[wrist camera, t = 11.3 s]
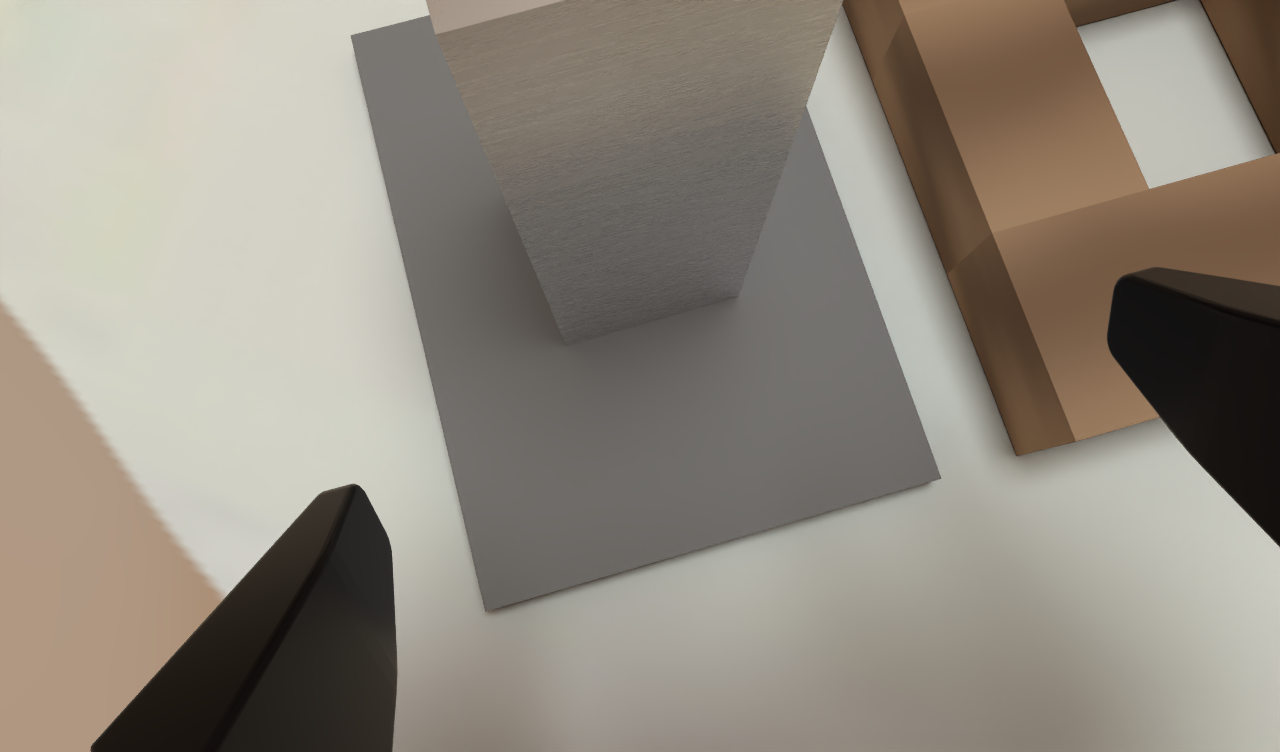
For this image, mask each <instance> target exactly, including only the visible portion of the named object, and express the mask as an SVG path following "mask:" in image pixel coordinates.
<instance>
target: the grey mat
mask: <svg viewBox="0 0 1280 752" xmlns="http://www.w3.org/2000/svg"><path fill="white" fill-rule="evenodd" d="M351 39H352V43H353V48H354V52H355V56H356V60H357V65H358V69H359V73H360V78H361V82H362V86H363V90H364V95H365V99H366V103H367V107H368V112H369V116H370V120H371V125H372V129H373V133H374V137H375V142H376V146H377V150H378V155H379V159H380V163H381V167H382V172H383V176H384V180H385V184H386V189H387V193H388V197H389V202H390V206H391V210H392V214H393V219H394V223H395V227H396V232H397V236H398V240H399V244H400V249H401V253H402V257H403V261H404V266H405V270H406V274H407V279H408V283H409V287H410V291H411V296H412V300H413V304H414V309H415V313H416V317H417V321H418V326H419V330H420V334H421V338H422V343H423V347H424V351H425V356H426V360H427V364H428V368H429V373H430V377H431V381H432V386H433V390H434V394H435V398H436V403H437V407H438V411H439V415H440V420H441V424H442V428H443V433H444V437H445V441H446V445H447V450H448V454H449V458H450V463H451V467H452V471H453V475H454V480H455V484H456V488H457V492H458V497H459V501H460V505H461V510H462V514H463V518H464V522H465V527H466V531H467V535H468V540H469V544H470V548H471V552H472V557H473V561H474V565H475V569H476V574H477V578H478V582H479V587H480V591H481V595H482V599H483V604H484V608H485V612H486V611H490V610H493V609H496V608H500V607H503V606H507V605H510V604H514V603H517V602H520V601H524V600H527V599H531V598H534V597H537V596H541V595H544V594H548V593H551V592H555V591H558V590H561V589H565V588H568V587H572V586H575V585H579V584H582V583H585V582H589V581H592V580H596V579H599V578H603V577H606V576H609V575H613V574H616V573H620V572H623V571H627V570H630V569H633V568H637V567H640V566H644V565H647V564H651V563H654V562H657V561H661V560H664V559H668V558H671V557H674V556H678V555H681V554H685V553H688V552H692V551H695V550H698V549H702V548H705V547H709V546H712V545H716V544H719V543H722V542H726V541H729V540H733V539H736V538H740V537H743V536H746V535H750V534H753V533H757V532H760V531H764V530H767V529H770V528H774V527H777V526H781V525H784V524H788V523H791V522H794V521H798V520H801V519H805V518H808V517H811V516H815V515H818V514H822V513H825V512H829V511H832V510H835V509H839V508H842V507H846V506H849V505H853V504H856V503H859V502H863V501H866V500H870V499H873V498H877V497H880V496H883V495H887V494H890V493H894V492H897V491H901V490H904V489H907V488H911V487H914V486H918V485H921V484H925V483H928V482H931V481H935V480H938V479H941V476H940V474H939V471H938V468H937V465H936V463H935V460H934V457H933V454H932V452H931V449H930V446H929V443H928V441H927V438H926V435H925V432H924V429H923V427H922V424H921V421H920V418H919V416H918V413H917V410H916V407H915V405H914V402H913V399H912V396H911V394H910V391H909V388H908V385H907V383H906V380H905V377H904V374H903V372H902V369H901V366H900V363H899V361H898V358H897V355H896V352H895V350H894V347H893V344H892V341H891V339H890V336H889V333H888V330H887V328H886V325H885V322H884V319H883V317H882V314H881V311H880V308H879V305H878V303H877V300H876V297H875V294H874V292H873V289H872V286H871V283H870V281H869V278H868V275H867V272H866V270H865V267H864V264H863V261H862V259H861V256H860V253H859V250H858V248H857V245H856V242H855V239H854V237H853V234H852V231H851V228H850V226H849V223H848V220H847V217H846V215H845V212H844V209H843V206H842V204H841V201H840V198H839V195H838V193H837V190H836V187H835V184H834V181H833V179H832V176H831V173H830V170H829V168H828V165H827V162H826V159H825V157H824V154H823V151H822V148H821V146H820V143H819V140H818V137H817V135H816V132H815V129H814V126H813V124H812V121H811V118H810V115H809V113H808V110H807V107H805V110H804V113H803V115H802V118H801V121H800V124H799V127H798V130H797V132H796V135H795V138H794V141H793V144H792V146H791V149H790V152H789V155H788V158H787V161H786V163H785V166H784V169H783V172H782V175H781V178H780V180H779V183H778V186H777V189H776V192H775V195H774V197H773V200H772V203H771V206H770V209H769V212H768V214H767V217H766V220H765V223H764V226H763V229H762V231H761V234H760V237H759V240H758V243H757V245H756V248H755V251H754V254H753V257H752V260H751V262H750V265H749V268H748V271H747V274H746V277H745V279H744V282H743V285H742V288H741V291H740V294H739V296H738V297H736V298H732V299H729V300H725V301H722V302H718V303H715V304H711V305H708V306H704V307H701V308H697V309H694V310H690V311H687V312H683V313H680V314H676V315H673V316H669V317H666V318H662V319H659V320H655V321H652V322H648V323H645V324H641V325H638V326H634V327H631V328H627V329H624V330H620V331H617V332H613V333H610V334H606V335H603V336H599V337H596V338H592V339H589V340H585V341H582V342H578V343H575V344H571V345H568V346H566V344H565V342H564V339H563V337H562V334H561V332H560V330H559V327H558V325H557V323H556V320H555V318H554V315H553V313H552V311H551V308H550V306H549V304H548V301H547V299H546V296H545V294H544V292H543V289H542V287H541V285H540V282H539V280H538V277H537V275H536V273H535V270H534V268H533V266H532V263H531V261H530V258H529V256H528V254H527V251H526V249H525V247H524V244H523V242H522V239H521V237H520V235H519V232H518V230H517V228H516V225H515V223H514V220H513V218H512V216H511V213H510V211H509V209H508V206H507V204H506V201H505V199H504V197H503V194H502V192H501V190H500V187H499V185H498V182H497V180H496V178H495V175H494V173H493V171H492V168H491V166H490V163H489V161H488V159H487V156H486V154H485V152H484V149H483V147H482V144H481V142H480V140H479V137H478V135H477V133H476V130H475V128H474V125H473V123H472V121H471V118H470V116H469V114H468V111H467V109H466V107H465V104H464V102H463V99H462V97H461V95H460V92H459V90H458V88H457V85H456V83H455V80H454V78H453V76H452V73H451V71H450V69H449V66H448V64H447V61H446V59H445V57H444V54H443V52H442V50H441V47H440V45H439V42H438V40H437V38H436V35H435V32H434V28H433V24H432V21H431V17H430V15H429V16H425V17H421V18H417V19H413V20H409V21H405V22H401V23H398V24H394V25H390V26H386V27H382V28H378V29H374V30H370V31H366V32H362V33H359V34H355V35H351Z"/></svg>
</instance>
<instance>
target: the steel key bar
mask: <svg viewBox="0 0 1280 752" xmlns="http://www.w3.org/2000/svg"><path fill="white" fill-rule="evenodd" d="M426 2H427V6H428V10H429V13H430V17H431V21H432V24H433V28H434V32H435V35H436V38H437V40H438V42H439V45H440V47H441V50H442V52H443V54H444V57H445V59H446V61H447V64H448V66H449V69H450V71H451V73H452V76H453V78H454V80H455V83H456V85H457V88H458V90H459V92H460V95H461V97H462V99H463V102H464V104H465V107H466V109H467V111H468V114H469V116H470V118H471V121H472V123H473V125H474V128H475V130H476V133H477V135H478V137H479V140H480V142H481V144H482V147H483V149H484V152H485V154H486V156H487V159H488V161H489V163H490V166H491V168H492V171H493V173H494V175H495V178H496V180H497V182H498V185H499V187H500V190H501V192H502V194H503V197H504V199H505V201H506V204H507V206H508V209H509V211H510V213H511V216H512V218H513V220H514V223H515V225H516V228H517V230H518V232H519V235H520V237H521V239H522V242H523V244H524V247H525V249H526V251H527V254H528V256H529V258H530V261H531V263H532V266H533V268H534V270H535V273H536V275H537V277H538V280H539V282H540V285H541V287H542V289H543V292H544V294H545V296H546V299H547V301H548V304H549V306H550V308H551V311H552V313H553V315H554V318H555V320H556V323H557V325H558V327H559V330H560V332H561V334H562V337H563V339H564V342H565V344H566V346H568V345H571V344H575V343H578V342H582V341H585V340H589V339H592V338H596V337H599V336H603V335H606V334H610V333H613V332H617V331H620V330H624V329H627V328H631V327H634V326H638V325H641V324H645V323H648V322H652V321H655V320H659V319H662V318H666V317H669V316H673V315H676V314H680V313H683V312H687V311H690V310H694V309H697V308H701V307H704V306H708V305H711V304H715V303H718V302H722V301H725V300H729V299H732V298H736V297H738V296H739V294H740V291H741V288H742V285H743V282H744V279H745V277H746V274H747V271H748V268H749V265H750V262H751V260H752V257H753V254H754V251H755V248H756V245H757V243H758V240H759V237H760V234H761V231H762V229H763V226H764V223H765V220H766V217H767V214H768V212H769V209H770V206H771V203H772V200H773V197H774V195H775V192H776V189H777V186H778V183H779V180H780V178H781V175H782V172H783V169H784V166H785V163H786V161H787V158H788V155H789V152H790V149H791V146H792V144H793V141H794V138H795V135H796V132H797V130H798V127H799V124H800V121H801V118H802V115H803V113H804V110H805V107H806V104H807V101H808V98H809V96H810V93H811V90H812V87H813V84H814V81H815V79H816V76H817V73H818V70H819V67H820V64H821V62H822V59H823V56H824V53H825V50H826V47H827V45H828V42H829V39H830V36H831V33H832V31H833V28H834V25H835V22H836V19H837V16H838V14H839V11H840V8H841V5H842V2H843V0H426Z"/></svg>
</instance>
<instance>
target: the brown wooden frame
mask: <svg viewBox="0 0 1280 752" xmlns="http://www.w3.org/2000/svg"><path fill="white" fill-rule="evenodd" d="M1170 1H1174V0H843V2H842V3H843V6H844V8H845V11H846V13H847V16H848V19H849V21H850V24H851V26H852V29H853V32H854V34H855V37H856V39H857V42H858V45H859V47H860V50H861V52H862V55H863V57H864V60H865V63H866V65H867V68H868V70H869V73H870V76H871V78H872V81H873V83H874V86H875V89H876V91H877V94H878V96H879V99H880V102H881V104H882V107H883V109H884V112H885V115H886V117H887V120H888V122H889V125H890V128H891V130H892V133H893V135H894V138H895V141H896V143H897V146H898V148H899V151H900V154H901V156H902V159H903V161H904V164H905V167H906V169H907V172H908V174H909V177H910V179H911V182H912V185H913V187H914V190H915V192H916V195H917V198H918V200H919V203H920V205H921V208H922V211H923V213H924V216H925V218H926V221H927V224H928V226H929V229H930V231H931V234H932V237H933V239H934V242H935V244H936V247H937V250H938V252H939V255H940V257H941V260H942V263H943V265H944V268H945V270H946V273H947V276H948V278H949V281H950V283H951V286H952V289H953V291H954V294H955V296H956V299H957V301H958V304H959V307H960V309H961V312H962V314H963V317H964V320H965V322H966V325H967V327H968V330H969V333H970V335H971V338H972V340H973V343H974V346H975V348H976V351H977V353H978V356H979V359H980V361H981V364H982V366H983V369H984V372H985V374H986V377H987V379H988V382H989V385H990V387H991V390H992V392H993V395H994V398H995V400H996V403H997V405H998V408H999V411H1000V413H1001V416H1002V418H1003V421H1004V423H1005V426H1006V429H1007V431H1008V434H1009V436H1010V439H1011V442H1012V444H1013V447H1014V449H1015V452H1016V455H1017V456H1019V455H1023V454H1027V453H1031V452H1035V451H1039V450H1043V449H1047V448H1051V447H1055V446H1060V445H1064V444H1068V443H1072V442H1076V441H1079V440H1083V439H1086V438H1090V437H1093V436H1096V435H1100V434H1103V433H1107V432H1110V431H1114V430H1117V429H1120V428H1124V427H1127V426H1131V425H1134V424H1138V423H1141V422H1144V421H1148V420H1151V419H1155V418H1158V417H1160V416H1159V415H1158V414H1157V413H1156V411H1155V410H1154V409H1153V407H1152V406H1151V405H1150V404H1149V402H1148V401H1147V400H1146V398H1145V397H1144V396H1143V395H1142V393H1141V392H1140V391H1139V390H1138V388H1137V387H1136V386H1135V384H1134V383H1133V382H1132V381H1131V379H1130V378H1129V377H1128V376H1127V374H1126V373H1125V372H1124V370H1123V369H1122V368H1121V367H1120V365H1119V364H1118V363H1117V362H1116V360H1115V359H1114V358H1113V356H1112V354H1111V352H1110V350H1109V348H1108V344H1107V329H1108V322H1109V315H1110V309H1111V302H1112V295H1113V289H1114V285H1115V284H1116V282H1117V280H1118V279H1119V278H1120V277H1122V276H1123V275H1125V274H1129V273H1132V272H1136V271H1140V270H1143V269H1147V268H1150V267H1163V268H1170V269H1176V270H1182V271H1189V272H1195V273H1201V274H1207V275H1214V276H1220V277H1226V278H1233V279H1239V280H1245V281H1252V282H1258V283H1264V284H1270V285H1277V286H1280V0H1201V2H1202V4H1203V6H1204V8H1205V10H1206V12H1207V14H1208V16H1209V18H1210V20H1211V22H1212V24H1213V26H1214V28H1215V30H1216V32H1217V34H1218V36H1219V38H1220V40H1221V42H1222V44H1223V46H1224V48H1225V50H1226V52H1227V54H1228V56H1229V58H1230V60H1231V62H1232V64H1233V66H1234V68H1235V70H1236V72H1237V74H1238V76H1239V78H1240V80H1241V82H1242V84H1243V86H1244V88H1245V91H1246V93H1247V95H1248V97H1249V99H1250V101H1251V103H1252V105H1253V107H1254V109H1255V111H1256V113H1257V115H1258V117H1259V119H1260V121H1261V123H1262V125H1263V127H1264V129H1265V131H1266V133H1267V135H1268V137H1269V139H1270V141H1271V143H1272V145H1273V147H1274V149H1275V151H1276V153H1277V154H1274V155H1271V156H1267V157H1263V158H1260V159H1256V160H1253V161H1249V162H1245V163H1242V164H1238V165H1235V166H1231V167H1227V168H1224V169H1220V170H1217V171H1213V172H1209V173H1206V174H1202V175H1199V176H1195V177H1191V178H1188V179H1184V180H1181V181H1177V182H1174V183H1170V184H1166V185H1163V186H1159V187H1156V188H1152V189H1149V188H1148V185H1147V183H1146V181H1145V179H1144V177H1143V174H1142V172H1141V170H1140V168H1139V166H1138V163H1137V161H1136V159H1135V157H1134V154H1133V152H1132V150H1131V148H1130V146H1129V143H1128V141H1127V139H1126V137H1125V135H1124V132H1123V130H1122V128H1121V126H1120V124H1119V121H1118V119H1117V117H1116V115H1115V113H1114V110H1113V108H1112V106H1111V104H1110V101H1109V99H1108V97H1107V95H1106V93H1105V90H1104V88H1103V86H1102V84H1101V82H1100V79H1099V77H1098V75H1097V73H1096V71H1095V68H1094V66H1093V64H1092V62H1091V60H1090V57H1089V55H1088V53H1087V51H1086V48H1085V46H1084V44H1083V42H1082V40H1081V37H1080V35H1079V33H1078V31H1077V29H1076V27H1077V26H1080V25H1084V24H1088V23H1092V22H1095V21H1099V20H1103V19H1107V18H1110V17H1114V16H1118V15H1122V14H1125V13H1129V12H1133V11H1136V10H1140V9H1144V8H1148V7H1151V6H1155V5H1159V4H1163V3H1166V2H1170Z"/></svg>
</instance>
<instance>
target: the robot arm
mask: <svg viewBox="0 0 1280 752" xmlns="http://www.w3.org/2000/svg"><path fill="white" fill-rule="evenodd" d="M1107 344H1108V348H1109V350H1110V352H1111V354H1112V356H1113V358H1114V359H1115V360H1116V362H1117V363H1118V364H1119V365H1120V367H1121V368H1122V369H1123V370H1124V372H1125V373H1126V374H1127V376H1128V377H1129V378H1130V379H1131V381H1132V382H1133V383H1134V384H1135V386H1136V387H1137V388H1138V390H1139V391H1140V392H1141V393H1142V395H1143V396H1144V397H1145V398H1146V400H1147V401H1148V402H1149V404H1150V405H1151V406H1152V407H1153V409H1154V410H1155V411H1156V413H1157V414H1158V415H1159V416H1160V418H1161V419H1162V420H1163V421H1164V423H1165V424H1166V425H1167V427H1168V428H1169V429H1170V430H1171V432H1172V433H1173V434H1174V435H1175V437H1176V438H1177V439H1178V440H1179V441H1180V443H1181V444H1182V445H1183V446H1184V447H1185V449H1186V450H1187V451H1188V452H1189V453H1190V454H1191V455H1192V457H1193V458H1194V459H1195V460H1196V461H1197V462H1198V463H1199V464H1200V465H1201V466H1202V467H1203V468H1204V469H1205V470H1206V472H1207V473H1208V474H1209V475H1210V476H1211V477H1212V478H1213V479H1214V480H1215V481H1216V482H1217V483H1218V484H1219V485H1220V486H1221V487H1222V488H1223V489H1224V490H1225V491H1226V492H1227V493H1228V494H1229V495H1230V496H1231V497H1232V498H1233V499H1234V500H1235V501H1236V502H1237V503H1238V504H1239V505H1240V507H1241V508H1242V509H1243V510H1244V511H1245V512H1246V513H1247V514H1248V515H1249V516H1250V517H1251V518H1252V519H1253V520H1254V521H1255V522H1256V523H1257V524H1258V525H1259V526H1260V527H1261V528H1262V529H1263V530H1264V531H1265V532H1266V533H1267V534H1268V535H1269V536H1270V537H1271V538H1272V539H1273V541H1274V542H1275V543H1276V544H1277V545H1278V546H1279V547H1280V286H1277V285H1270V284H1264V283H1258V282H1252V281H1245V280H1239V279H1233V278H1226V277H1220V276H1214V275H1207V274H1201V273H1195V272H1189V271H1182V270H1176V269H1170V268H1163V267H1150V268H1147V269H1143V270H1140V271H1136V272H1132V273H1129V274H1125V275H1123V276H1122V277H1120V278H1119V279H1118V280H1117V282H1116V284H1115V285H1114V289H1113V295H1112V302H1111V309H1110V315H1109V322H1108V329H1107ZM396 693H397V645H396V625H395V604H394V584H393V563H392V550H391V545H390V541H389V538H388V536H387V533H386V531H385V529H384V527H383V526H382V524H381V522H380V520H379V518H378V516H377V514H376V512H375V510H374V508H373V506H372V505H371V503H370V501H369V499H368V497H367V495H366V493H365V492H364V490H363V489H362V488H361V487H360V486H358V485H356V484H350V485H346V486H342V487H338V488H335V489H331V490H327V491H324V492H322V493H320V494H319V495H318V496H317V497H316V498H315V499H314V500H313V501H312V502H311V503H310V505H309V506H308V507H307V508H306V509H305V510H304V511H303V512H302V513H301V515H300V516H299V517H298V518H297V519H296V520H295V521H294V522H293V523H292V524H291V526H290V527H289V528H288V529H287V530H286V531H285V532H284V533H283V534H282V536H281V537H280V538H279V539H278V540H277V541H276V542H275V543H274V544H273V546H272V547H271V548H270V549H269V550H268V551H267V552H266V553H265V554H264V555H263V557H262V558H261V559H260V560H259V561H258V562H257V563H256V564H255V565H254V567H253V568H252V569H251V570H250V571H249V572H248V573H247V574H246V575H245V576H244V578H243V579H242V580H241V581H240V582H239V583H238V584H237V585H236V586H235V588H234V589H233V590H232V591H231V592H230V593H229V594H228V595H227V596H226V597H225V599H224V600H223V601H222V602H221V603H220V604H219V605H218V606H217V607H216V609H215V610H214V611H213V612H212V613H211V614H210V615H209V616H208V617H207V618H206V620H205V621H204V622H203V623H202V624H201V625H200V626H199V627H198V629H197V630H196V631H195V632H194V633H193V634H192V635H191V636H190V637H189V638H188V639H187V641H186V642H185V643H184V644H183V645H182V646H181V647H180V648H179V649H178V651H177V652H176V653H175V654H174V655H173V656H172V657H171V658H170V659H169V660H168V662H167V663H166V664H165V665H164V666H163V667H162V668H161V670H159V671H158V673H157V674H156V675H155V676H154V677H153V678H152V679H151V680H150V682H149V683H148V684H147V685H146V686H145V687H144V688H143V689H142V690H141V691H140V693H139V694H138V695H137V696H136V697H135V698H134V699H133V700H132V701H131V703H129V705H128V706H127V707H126V708H125V709H124V710H123V711H122V712H121V713H120V715H119V716H118V717H117V718H116V719H115V720H114V721H113V722H112V723H111V725H110V726H109V727H108V728H107V729H106V730H105V731H104V732H103V733H102V735H101V736H100V737H99V738H98V739H97V740H96V741H95V742H94V743H93V745H92V746H91V752H392V747H393V734H394V721H395V707H396Z"/></svg>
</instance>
